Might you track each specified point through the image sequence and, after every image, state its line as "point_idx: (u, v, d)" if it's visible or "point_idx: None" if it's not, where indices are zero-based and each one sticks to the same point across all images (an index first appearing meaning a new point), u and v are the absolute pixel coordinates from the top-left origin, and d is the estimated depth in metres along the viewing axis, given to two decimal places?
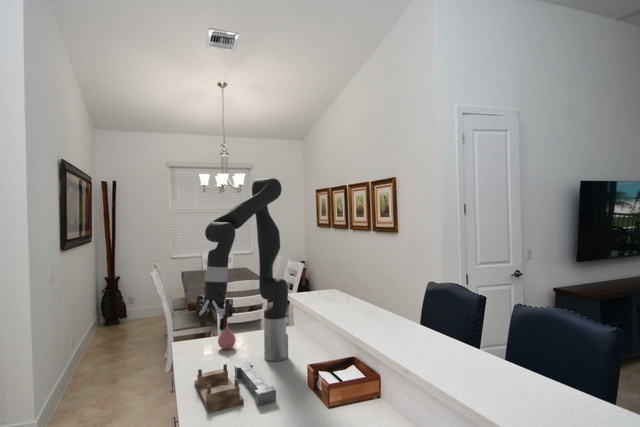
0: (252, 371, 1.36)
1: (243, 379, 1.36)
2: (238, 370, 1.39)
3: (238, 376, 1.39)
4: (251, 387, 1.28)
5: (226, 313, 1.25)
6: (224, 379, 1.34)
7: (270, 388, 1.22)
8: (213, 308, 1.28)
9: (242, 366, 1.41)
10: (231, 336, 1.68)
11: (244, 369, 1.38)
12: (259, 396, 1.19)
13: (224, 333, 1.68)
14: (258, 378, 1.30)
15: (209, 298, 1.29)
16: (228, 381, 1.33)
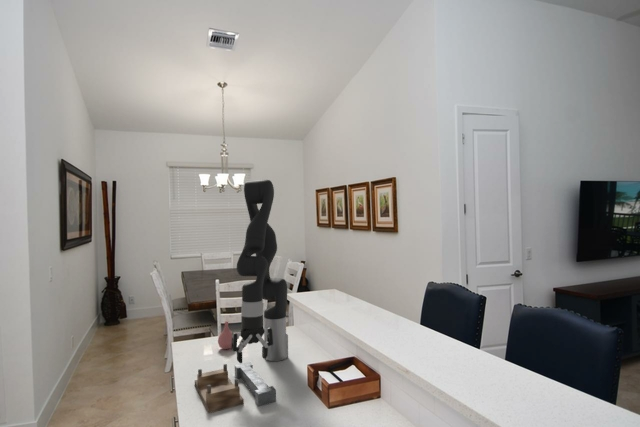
0: (252, 371, 1.36)
1: (243, 379, 1.36)
2: (238, 370, 1.39)
3: (238, 376, 1.39)
4: (251, 387, 1.28)
5: (271, 341, 1.33)
6: (224, 379, 1.34)
7: (270, 388, 1.22)
8: (255, 341, 1.31)
9: (242, 366, 1.41)
10: (231, 336, 1.68)
11: (244, 369, 1.38)
12: (259, 396, 1.19)
13: (224, 333, 1.68)
14: (258, 378, 1.30)
15: (249, 333, 1.30)
16: (228, 381, 1.33)
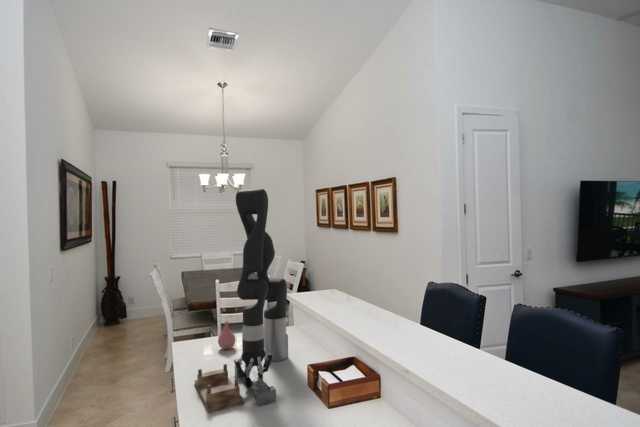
0: (252, 371, 1.36)
1: (243, 379, 1.36)
2: None
3: (238, 376, 1.39)
4: (252, 387, 1.28)
5: (266, 368, 1.33)
6: (224, 379, 1.34)
7: (270, 388, 1.22)
8: (254, 363, 1.30)
9: (242, 366, 1.41)
10: (231, 336, 1.68)
11: (244, 369, 1.38)
12: (259, 396, 1.19)
13: (224, 333, 1.68)
14: (258, 378, 1.30)
15: (250, 356, 1.30)
16: (228, 381, 1.33)
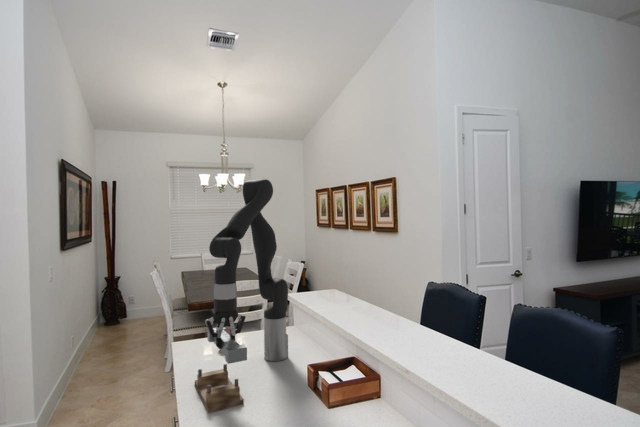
0: (225, 333, 1.32)
1: (215, 341, 1.32)
2: None
3: (211, 339, 1.35)
4: (223, 347, 1.24)
5: (238, 329, 1.29)
6: (224, 379, 1.34)
7: (241, 346, 1.19)
8: (225, 323, 1.27)
9: (215, 329, 1.37)
10: None
11: None
12: (229, 353, 1.15)
13: None
14: (230, 338, 1.26)
15: (222, 316, 1.26)
16: (228, 381, 1.33)
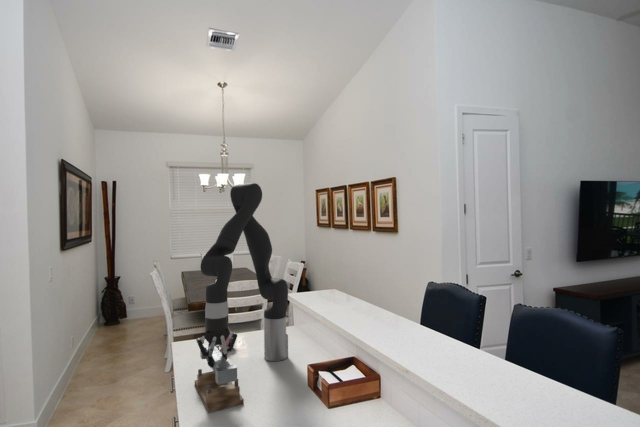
0: (217, 351, 1.32)
1: (207, 359, 1.32)
2: None
3: (203, 356, 1.35)
4: (214, 366, 1.24)
5: (230, 347, 1.29)
6: None
7: (231, 366, 1.18)
8: (217, 342, 1.26)
9: None
10: None
11: None
12: (219, 374, 1.15)
13: None
14: (221, 357, 1.26)
15: (213, 335, 1.26)
16: None
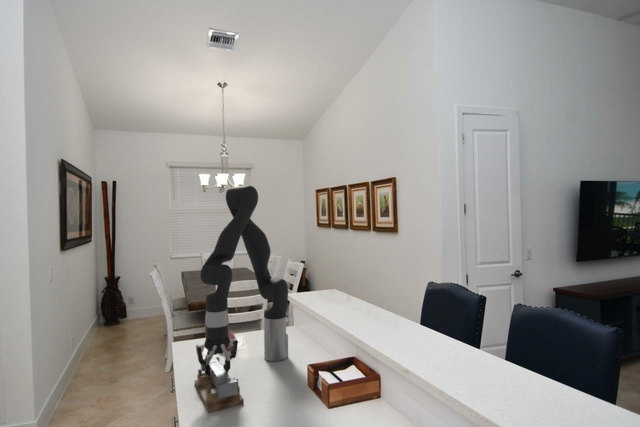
0: (217, 363, 1.32)
1: None
2: None
3: (203, 368, 1.35)
4: (214, 379, 1.24)
5: (233, 354, 1.29)
6: None
7: (232, 380, 1.18)
8: (218, 351, 1.27)
9: None
10: (231, 336, 1.68)
11: None
12: (219, 388, 1.15)
13: None
14: (222, 370, 1.26)
15: (213, 343, 1.26)
16: None
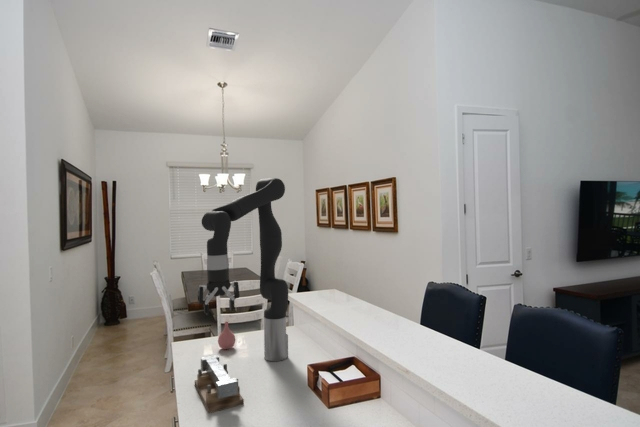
0: (217, 363, 1.32)
1: (208, 371, 1.32)
2: (203, 362, 1.35)
3: (203, 368, 1.35)
4: (214, 379, 1.24)
5: (237, 294, 1.37)
6: None
7: (232, 380, 1.18)
8: (221, 294, 1.34)
9: (208, 358, 1.37)
10: (231, 336, 1.68)
11: (209, 361, 1.34)
12: (219, 388, 1.15)
13: (224, 333, 1.68)
14: (222, 370, 1.26)
15: (215, 286, 1.33)
16: None
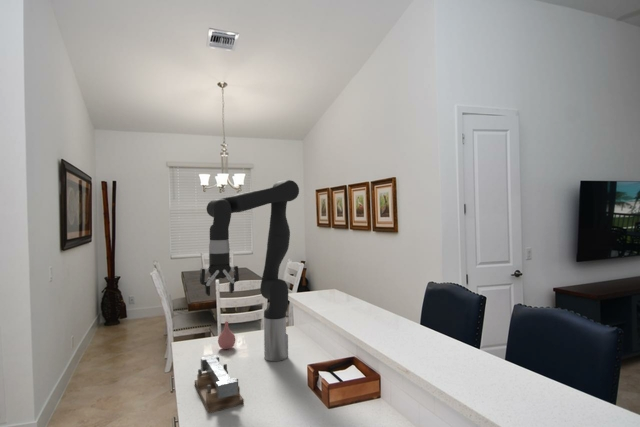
0: (217, 363, 1.32)
1: (208, 371, 1.32)
2: (203, 362, 1.35)
3: (203, 368, 1.35)
4: (214, 379, 1.24)
5: (237, 278, 1.46)
6: None
7: (232, 380, 1.18)
8: (222, 276, 1.43)
9: (208, 358, 1.37)
10: (231, 336, 1.68)
11: (209, 361, 1.34)
12: (219, 388, 1.15)
13: (224, 333, 1.68)
14: (222, 370, 1.26)
15: (216, 269, 1.42)
16: None
